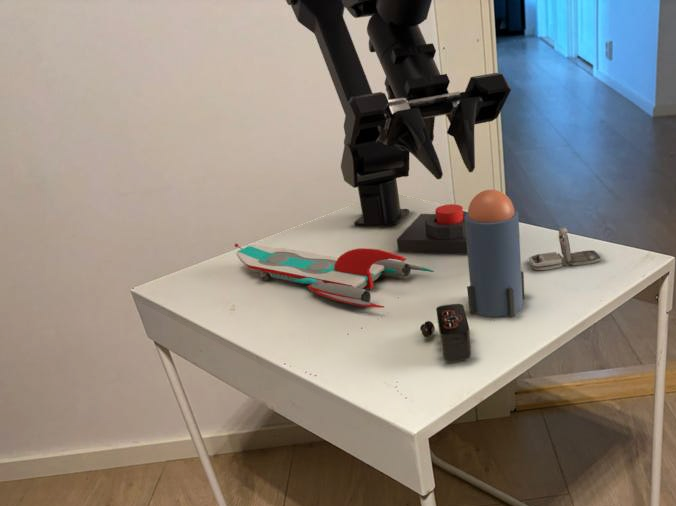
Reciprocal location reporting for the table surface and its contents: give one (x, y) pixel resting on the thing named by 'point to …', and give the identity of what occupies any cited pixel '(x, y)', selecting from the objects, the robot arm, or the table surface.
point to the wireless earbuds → (451, 332)
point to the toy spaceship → (328, 270)
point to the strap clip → (556, 260)
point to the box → (433, 236)
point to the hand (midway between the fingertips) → (456, 173)
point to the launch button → (449, 214)
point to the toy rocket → (493, 256)
